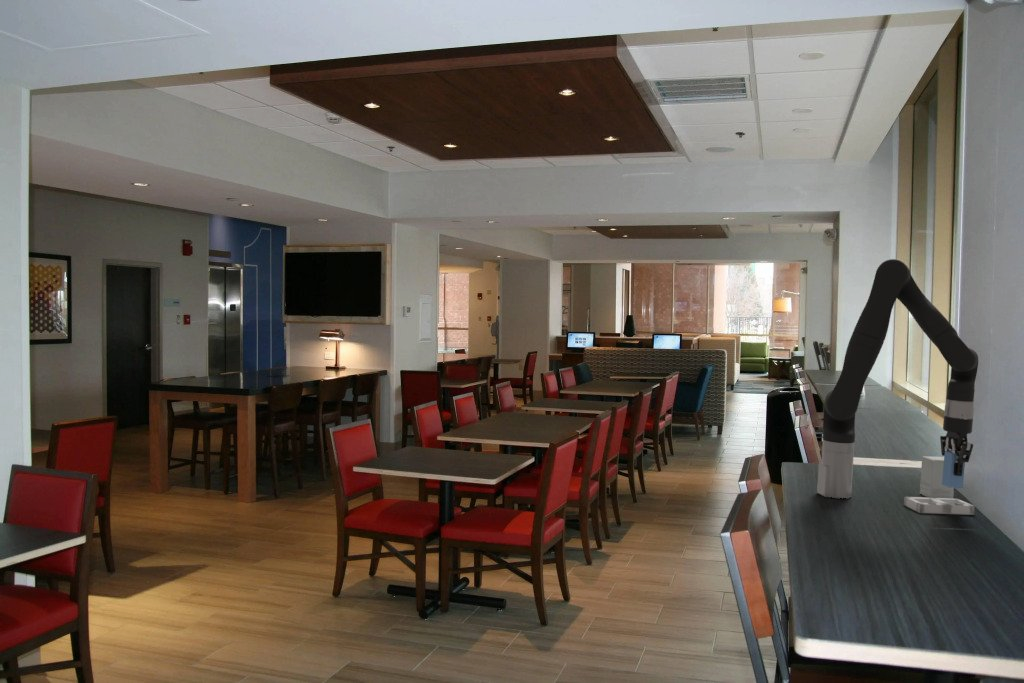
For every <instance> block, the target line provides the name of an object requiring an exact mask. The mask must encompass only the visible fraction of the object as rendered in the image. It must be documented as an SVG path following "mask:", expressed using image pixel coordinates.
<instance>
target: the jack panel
mask: <svg viewBox="0 0 1024 683" xmlns="http://www.w3.org/2000/svg"><path fill="white" fill-rule="evenodd" d="M903 500H904V501H903V505H904V506H905V507H906V508H909V509H911V510H913V511H915V512H917V513H919V514H941V515H943V514H945V515H967V516H968V515H971V516H974V515H975V505H973V504H971V503H969V502H966V501H964V500H961V499H959V498H954V497H953V498H928V497H926V496H924V497H923V496H904V498H903Z"/></svg>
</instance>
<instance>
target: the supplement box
mask: <svg viewBox="0 0 1024 683" xmlns="http://www.w3.org/2000/svg"><path fill="white" fill-rule="evenodd" d="M943 466H944V456H925V455H923V456H922V457H921V466H920V467H921V472H920V487H919V495H920V494H922V495H921V496H924V497H927V498H954V494H955V492H954V489H955V488H949V487H947V486H944V485H942V478H943Z"/></svg>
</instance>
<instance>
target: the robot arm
mask: <svg viewBox="0 0 1024 683" xmlns="http://www.w3.org/2000/svg"><path fill="white" fill-rule="evenodd" d="M896 300H898V301H899V302H900V303H901V304H902V305H903V306H904V307H905V308H906V309H907V311H908V312H909V313H910V315H911V316H912V317H913V319H914V321H915V322H916V324H917V326H919V328H920V329H921V330H922V332H924V334H925V335H926V336H927V338H928V339H929V340H930V341H931V342H932V344H934V345H935V347H936V348H937V349H938V350H939V353H940V354H941V355H942V357H943V358H944V361H945V362H947V364H948V365H949V367H951V370H950V379H949V381H948V384H947V389H946V390H947V391H946V400H945V404H944V409H943V410H944V412H943V413H944V414H943V423H942V430H943V431H945V432H946V434H945V435H940V437H939V440H940V449H941V450H940V451H941V452H940V453H941V457H944V455H945V451H950V450H951V449H952V453H953V454H954V455H955V463H954V473H953V474H954V475H955V476H962V470H963V463H965V464H966V463H969V461H970V458H971V455H972V451H973V448H974V443H969V442H968V435H969V434H972V433H973V423H974V415H975V414H974V413H975V408H974V406H975V405H974V399H975V382H976V380H977V379H976V378H977V375H978V367H979V356H978V353H977V352H976V351H975V350H974V349H972V348H971V347H968V346H967V344H966V343H965V342H964V341H963V340H962V338H960V336H959V335H958V334H959V333H958V332H957V330H956V329H955V328H954V326H953V325H952V324H951V323H950V321H949V320H948V319H947V318H946V317H945V316H944V315H943V314H942V313H941V311H939V309H938V308H937V307H936V306H935V305H934V304H933V303H932V302H931V301H930V300H929V299H928V298H927V297H926V295H925V294H924V293H923V291H922V290H921V289H920V287H919V286H918V284H917V282H916V281H915V279H914V277H913V275H912V273H911V270H910V269H909V267H908V265H907V264H906V263H904V262H903V261H902V260H900V259H897V258H896V259H895V258H889V259H887V260H884V261H883V262H881V264H879V265H878V267H877V269H876V271H875V274H874V280H873V283H872V285H871V288H870V293H869V296H868V299H867V301H866V303H865V306H864V307H863V309H862V311H861V314H860V315H859V318H858V320H857V323H856V324H855V326H854V329H853V331H852V332H851V333H852V334H851V336H850V338H849V340H848V341H849V342H848V344H847V348H846V349H845V350H846V351H845V354H844V360H843V365H842V369H841V371H840V375H839V377H838V380H837V382H836V384H835V386H834V388H833V390H830V391H829V392H828V393H827V395H826V396H825V399H824V403H823V417H822V418H823V419H822V420H823V421H822V422H823V423H822V446H821V462H818V468H817V469H818V473H817V486H816V489H817V490H816V493H817V494H819V495H821V496H822V497H824V498H831V497H832V499H833V498H834V499H840V498H842V499H843V498H846V499H850V497H851V498H852V490H853V471H854V454H855V439H856V432H855V427H856V426H855V423H856V413H857V411H858V408H859V404H860V400H861V396H862V393H863V390H864V386H865V383H866V381H867V379H868V377H869V375H870V373H871V371H872V369H873V368H874V366H875V363H876V361H877V359H878V357H879V354H880V353H881V350H882V348H883V345H884V344H885V340H886V337H887V333H888V330H889V325H890V321H891V316H892V310H893V308H894V305H895V303H896ZM957 451H960V452H957ZM958 455H959V458H958ZM965 455H966V457H965ZM842 499H841V500H842Z"/></svg>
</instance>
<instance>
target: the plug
mask: <svg viewBox="0 0 1024 683" xmlns="http://www.w3.org/2000/svg"><path fill="white" fill-rule="evenodd" d="M957 452H960V451H957ZM943 457H944V466H943V478H942V485H944V486H947V487H949V488H954V489H963V488H964V477H965V469H966V468H965V467H966V462H965V463H963V470H962V476H955V475H954V474H953V473H954V463H955V455H954V454H953V453H952V449H951V450H950V451H945V455H944V456H943ZM965 457H966V455H965ZM958 458H959V455H958Z"/></svg>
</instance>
